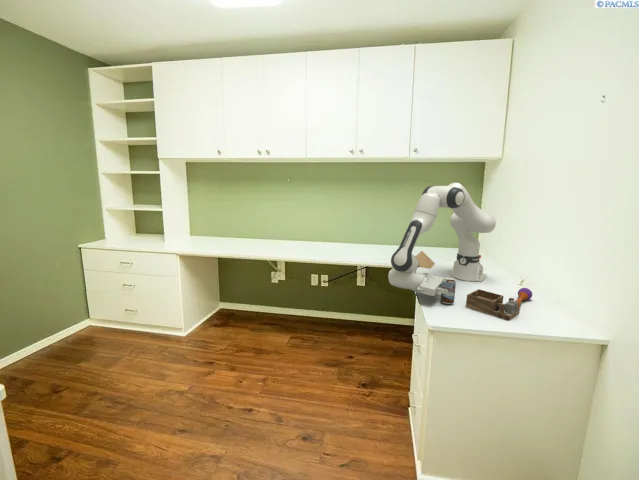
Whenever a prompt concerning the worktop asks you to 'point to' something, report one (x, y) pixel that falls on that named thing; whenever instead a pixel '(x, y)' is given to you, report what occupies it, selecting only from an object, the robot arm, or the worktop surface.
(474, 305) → the tray
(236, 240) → the worktop surface
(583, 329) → the worktop surface
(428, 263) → the model pyramid
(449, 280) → the beverage can
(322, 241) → the worktop surface
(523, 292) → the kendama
